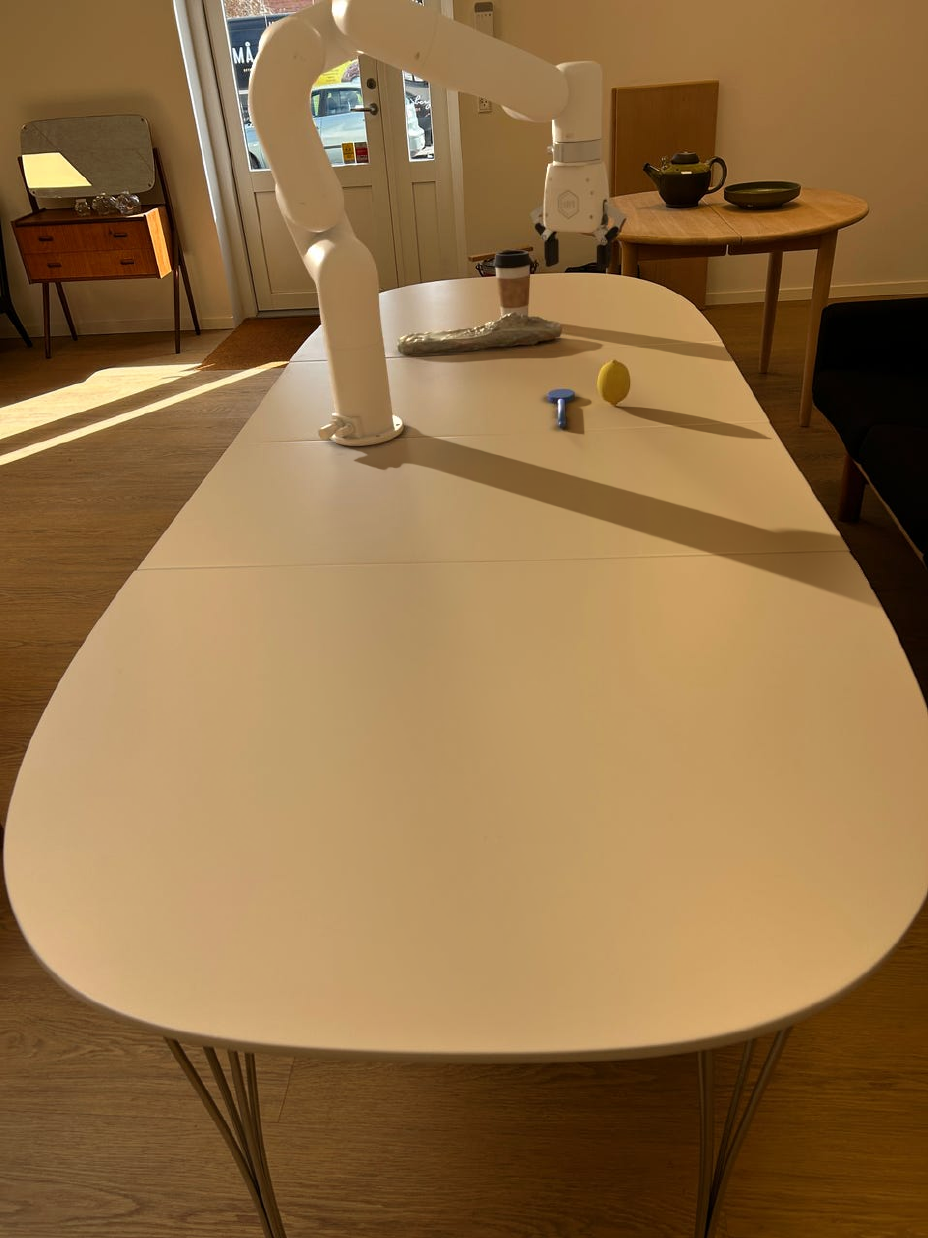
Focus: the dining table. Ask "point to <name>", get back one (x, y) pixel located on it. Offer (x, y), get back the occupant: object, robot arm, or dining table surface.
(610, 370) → the lemon
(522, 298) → the coffee cup
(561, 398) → the blue paddle
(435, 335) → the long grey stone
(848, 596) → the dining table surface
